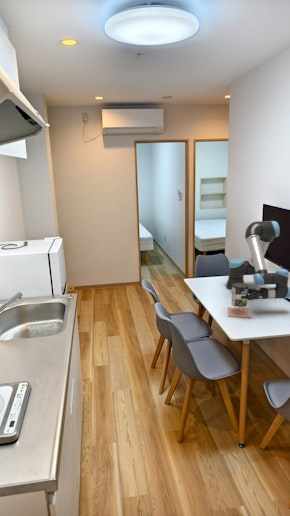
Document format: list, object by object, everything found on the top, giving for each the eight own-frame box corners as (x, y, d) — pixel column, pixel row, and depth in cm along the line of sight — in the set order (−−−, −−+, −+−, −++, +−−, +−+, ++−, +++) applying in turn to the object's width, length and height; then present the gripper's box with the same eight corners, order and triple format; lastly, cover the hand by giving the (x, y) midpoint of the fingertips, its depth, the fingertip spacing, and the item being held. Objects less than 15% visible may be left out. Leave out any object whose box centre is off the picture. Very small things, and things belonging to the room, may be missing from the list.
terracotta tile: (227, 308, 240) (227, 307, 239) (248, 309, 237) (248, 308, 236) (228, 316, 226) (228, 315, 226) (250, 318, 223) (250, 316, 223)
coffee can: (250, 305, 229) (251, 285, 225) (240, 309, 223) (241, 288, 219) (238, 300, 237) (239, 281, 233) (228, 304, 231) (228, 284, 227)
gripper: (272, 304, 218) (238, 305, 218) (260, 292, 240) (228, 293, 240) (273, 293, 216) (238, 294, 216) (261, 282, 238) (229, 283, 238)
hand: (233, 294), depth 228 cm, fingers closed on coffee can, 10 cm apart
